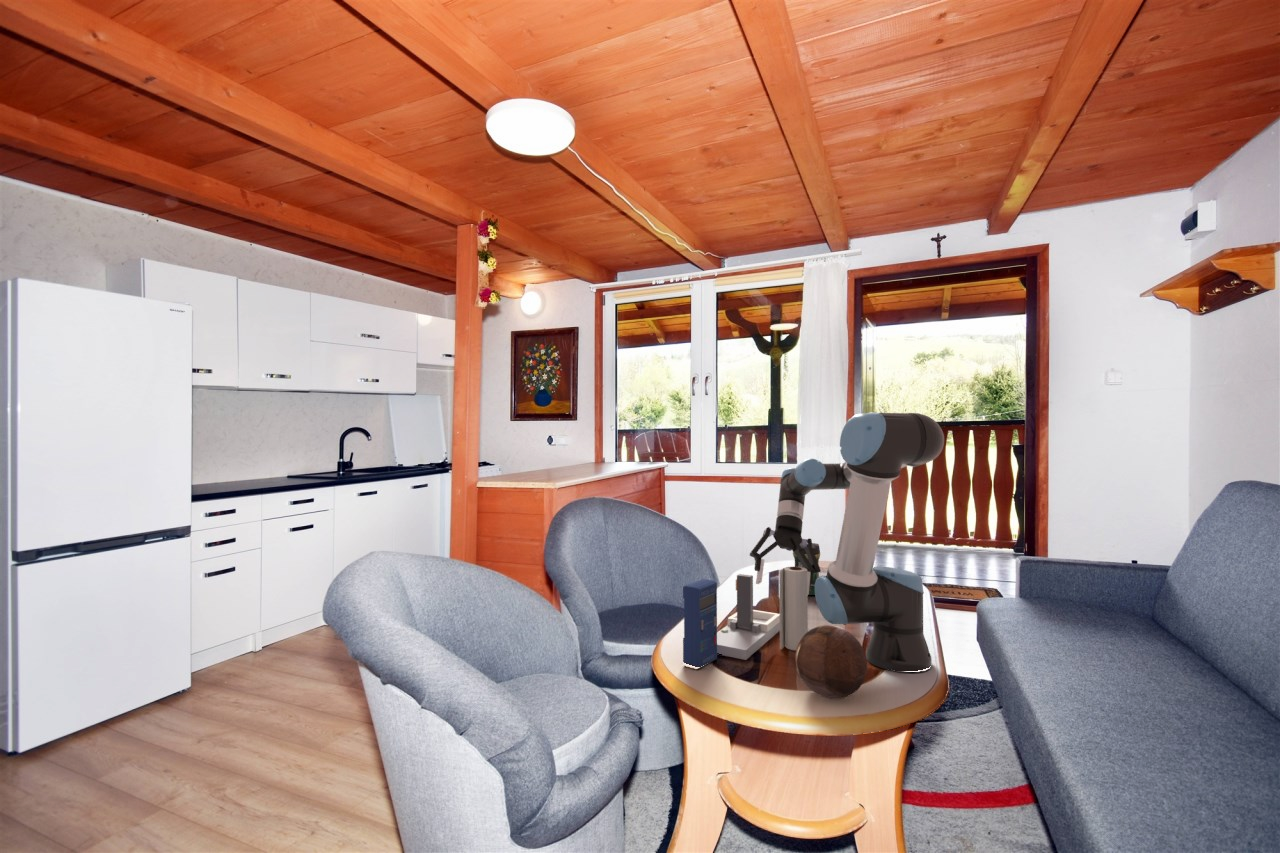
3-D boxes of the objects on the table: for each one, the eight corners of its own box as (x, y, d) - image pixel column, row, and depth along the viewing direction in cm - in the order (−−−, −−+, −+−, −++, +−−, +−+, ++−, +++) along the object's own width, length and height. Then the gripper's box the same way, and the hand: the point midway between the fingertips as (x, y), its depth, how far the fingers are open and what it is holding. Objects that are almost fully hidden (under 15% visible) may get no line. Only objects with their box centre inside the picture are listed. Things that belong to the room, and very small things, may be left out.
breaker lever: (738, 626, 170) (738, 573, 170) (754, 629, 168) (753, 575, 168) (735, 628, 168) (735, 575, 169) (751, 630, 166) (751, 577, 166)
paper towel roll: (807, 644, 163) (807, 566, 163) (807, 652, 157) (807, 571, 158) (780, 642, 165) (780, 564, 165) (779, 650, 159) (779, 569, 160)
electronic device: (699, 671, 145) (699, 588, 145) (681, 666, 148) (681, 585, 148) (718, 659, 152) (718, 581, 153) (701, 655, 155) (701, 578, 156)
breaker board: (742, 622, 182) (742, 608, 183) (781, 629, 176) (780, 614, 176) (703, 651, 158) (703, 634, 158) (746, 660, 152) (745, 642, 152)
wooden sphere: (873, 690, 133) (872, 623, 134) (860, 717, 121) (859, 642, 121) (805, 676, 141) (805, 613, 141) (787, 700, 128) (786, 630, 128)
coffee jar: (790, 594, 215) (790, 543, 216) (795, 589, 223) (794, 539, 223) (818, 597, 211) (818, 545, 212) (822, 592, 218) (821, 541, 219)
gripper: (824, 533, 180) (819, 603, 170) (745, 511, 179) (735, 580, 169) (835, 526, 173) (830, 598, 163) (753, 503, 172) (743, 574, 162)
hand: (782, 589), depth 166 cm, fingers open, 13 cm apart
